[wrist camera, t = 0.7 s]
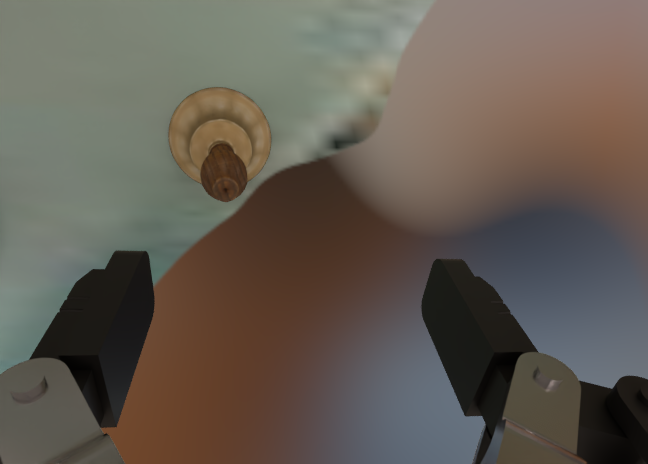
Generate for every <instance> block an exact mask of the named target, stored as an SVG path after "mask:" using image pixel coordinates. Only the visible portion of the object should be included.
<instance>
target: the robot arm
mask: <svg viewBox="0 0 648 464" xmlns="http://www.w3.org/2000/svg"><path fill="white" fill-rule="evenodd" d="M153 313H154V291H153V283H152V276H151V268H150V261H149V256H148V253H147V252H146V251H115V252H114V253H113V255H112V257H111V259H110V261H109V263H108V264H107V266H106V268H105V269H93V270H91V271H90V272H89V273H87V274H86V275H85V276H83V277H82V278H81V279H80V280H78V281H77V282H76V283H75V285H74V287H73V288H72V290H71V292H70V293H69V295H68V296H67V300H65V301H64V303H63V305H62V306H61V308H60V312H58V313H57V315H56V316H55V318H54V319H53V321H52V323H51V324H50V326H49V328H48V329H47V331H46V333H45V334H44V336H43V338H42V339H41V341H40V342H39V344H38V346H37V347H36V349H35V351H34V352H33V354H32V356H31V357H30V359H29V360H27V361H24V362H22V363H19V364H17V365H15V366H13V367H11V368H9V369H7V370H6V371H4V372H3V373H2V374H0V464H125V463H124V461H123V459H122V458H121V456H120V455H119V452H118V450H117V448H116V447H115V445H114V443H113V441H112V440H111V438H110V436H109V435H108V434H104V433H103V432H102V430H101V428H104V427H117V423H118V421H119V418H120V415H121V411H122V409H123V405H124V403H125V400H126V396H127V393H128V390H129V387H130V384H131V381H132V378H133V375H134V372H135V369H136V366H137V363H138V360H139V357H140V354H141V351H142V348H143V345H144V342H145V339H146V336H147V332H148V330H149V327H150V324H151V321H152V317H153ZM422 316H423V320H424V322H425V324H426V327H427V329H428V332H429V334H430V336H431V338H432V341H433V343H434V345H435V347H436V350H437V352H438V355H439V357H440V359H441V361H442V364H443V366H444V368H445V371H446V373H447V375H448V378H449V380H450V382H451V385H452V387H453V389H454V392H455V394H456V396H457V399H458V401H459V403H460V405H461V408H462V410H463V412H464V415H465V416H483V419H484V421H485V423H486V424H485V426H484V428H483V430H482V432H481V436H480V439H479V442H478V446H477V449H476V452H475V456H474V459H473V463H472V464H648V380H647V379H645V378H642V377H637V376H624V377H622V378H620V379H619V380H618V382H617V383H616V384H615V386H614V387H613V389H610V388H606V387H602V386H598V385H594V384H590V383H586V382H582V381H579V380H578V378H577V376H576V375H575V374H574V373H573V371H572V370H571V369H569V368H568V367H567V366H566V365H565V364H564V363H562V362H561V361H559V360H558V359H556V358H554V357H551V356H549V355H546V354H543V353H539V352H538V351H537V349H536V348H535V346H534V345H533V344H532V342H531V341H530V339H529V338H528V336H527V335H526V333H525V332H524V331H523V329H522V328H521V326H520V325H519V323H518V322H517V320H516V319H515V318H514V316H513V315H511V314H510V310H509V309H508V307H507V306H506V305H505V304H503V300H502V299H501V297H500V296H499V295H498V293H497V292H496V291H495V289H494V288H493V287H492V286H491V285H489V284H488V283H487V282H486V281H484V280H483V279H482V278H480V277H475V276H474V275H473V273H472V272H471V270H470V269H469V267H468V266H467V264H466V263H465V261H463V260H462V259H436V260H435V261H434V263H433V265H432V268H431V271H430V275H429V278H428V281H427V285H426V288H425V291H424V295H423V298H422Z"/></svg>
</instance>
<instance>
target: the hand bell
mask: <svg viewBox="0 0 648 464" xmlns="http://www.w3.org/2000/svg"><path fill="white" fill-rule="evenodd" d="M169 145H170V149H171V152H172V155H173V157H174V159H175V161H176V162H177V164H178V165H179V167H180V168H181V169H182V170H183V171H184V172H185V173H186V174H187V175H188V176H189V177H190V178H192V179H193V180H195V181H197V182H198V183H201V184H202V185H203V187H204V189H205V190H206V192H207V193H208V194H209V195H210V196H212V197H213V198H215V199H217V200H220V201H223V202H228V201H232V200H233V199H235V198H237V197H238V196H239V195H241V193H242V192H243V191H244V189H245V187H246V184H247V182H248V181H250V180H251V179H252V178H254V177H255V176H256V175H257V174H258V173H259V172H260V171H261V169H262V168H263V166H264V165H265V163H266V161H267V159H268V156H269V153H270V148H271V132H270V128H269V124H268V122H267V120H266V118H265V116H264V114H263V112H262V111H261V109H260V108H259V107H258V106H257V105H256V104H255V103H254V101H252V100H251V99H250V98H248V97H247V96H245V95H244V94H242V93H240V92H237V91H235V90H232V89H228V88H221V87H214V88H207V89H203V90H200V91H197V92H195V93H193V94H191V95H190V96H188V97H187V98H186V99H185V100H183V101H182V103H181V104H180V105H179V106H178V107H177V109H176V110H175V112H174V114H173V116H172V118H171V122H170V126H169Z"/></svg>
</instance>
